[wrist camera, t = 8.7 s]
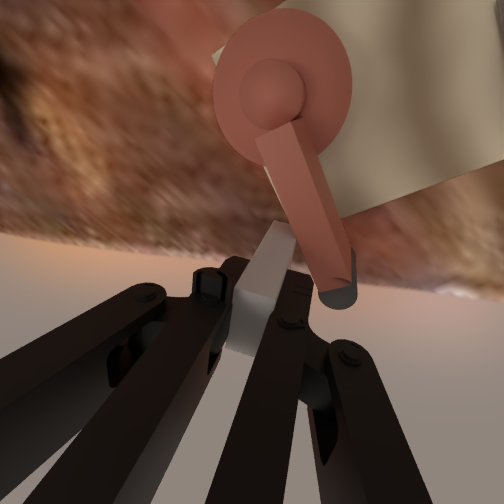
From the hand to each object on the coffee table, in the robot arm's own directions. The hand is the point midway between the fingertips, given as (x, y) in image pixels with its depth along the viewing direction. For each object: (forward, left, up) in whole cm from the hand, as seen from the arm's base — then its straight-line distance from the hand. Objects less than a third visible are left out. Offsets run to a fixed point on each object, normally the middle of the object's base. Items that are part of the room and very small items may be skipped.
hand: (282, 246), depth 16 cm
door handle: (-2, -3, -4) cm, 6 cm away
